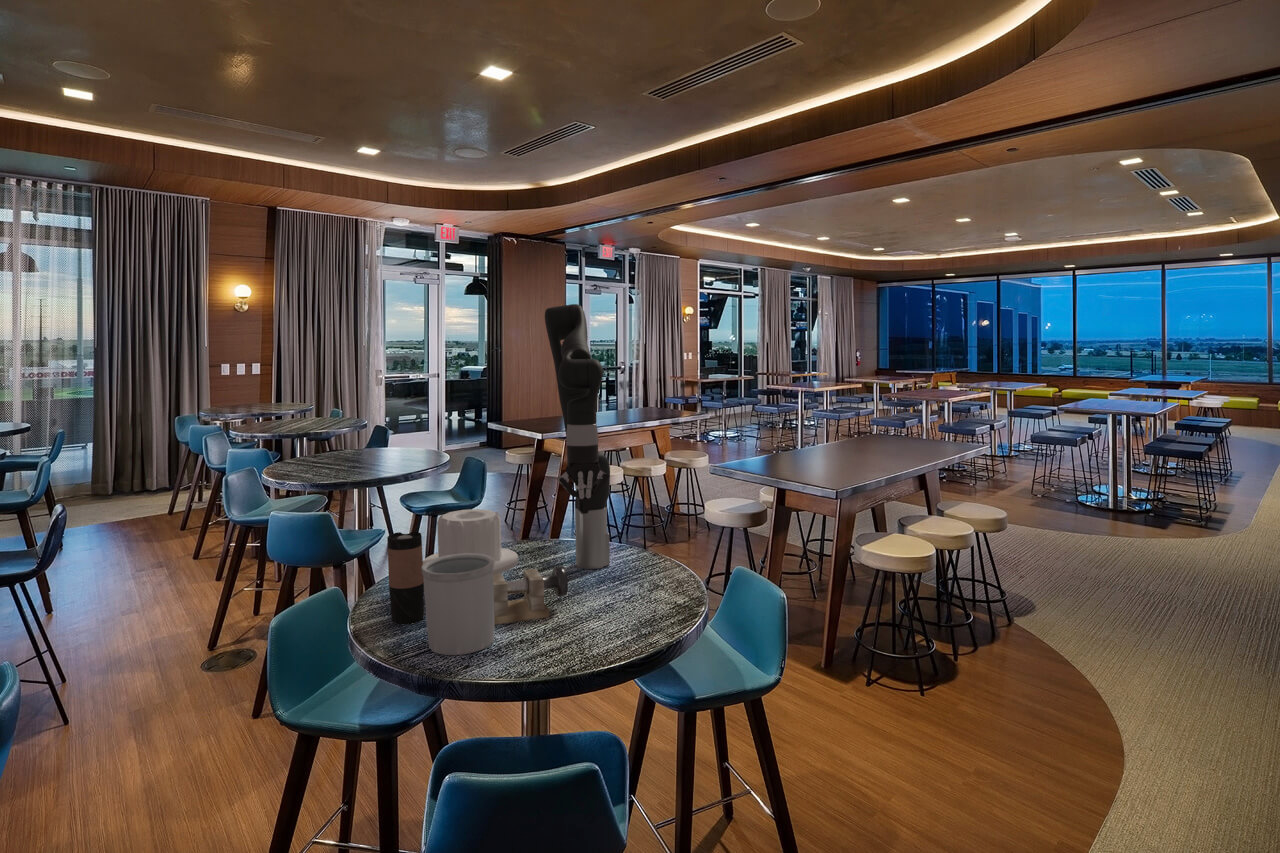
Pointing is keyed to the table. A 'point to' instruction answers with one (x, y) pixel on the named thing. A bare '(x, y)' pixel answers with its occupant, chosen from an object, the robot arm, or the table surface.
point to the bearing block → (520, 608)
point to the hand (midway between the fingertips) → (584, 513)
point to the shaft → (550, 582)
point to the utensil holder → (459, 603)
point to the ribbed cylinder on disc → (473, 537)
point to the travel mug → (406, 577)
